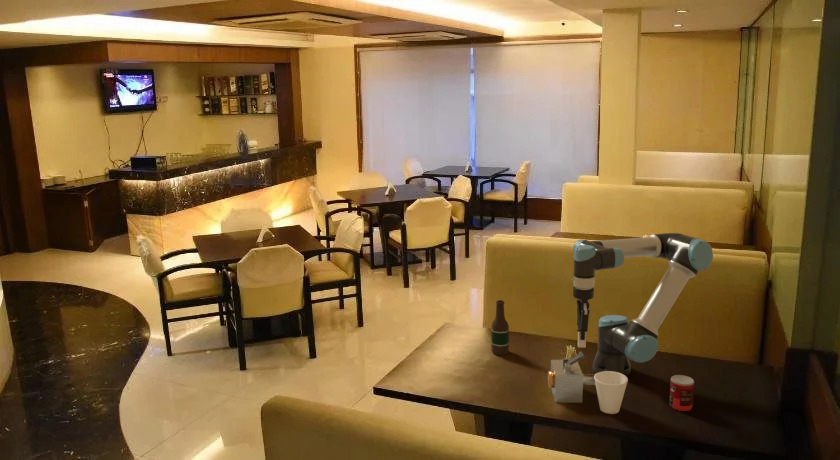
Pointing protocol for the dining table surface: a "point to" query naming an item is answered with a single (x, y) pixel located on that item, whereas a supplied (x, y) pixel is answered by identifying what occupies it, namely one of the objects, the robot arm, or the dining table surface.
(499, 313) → the beer bottle
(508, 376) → the dining table surface
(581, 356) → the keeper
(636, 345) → the robot arm
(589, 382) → the pin
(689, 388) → the canned food
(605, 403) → the cup
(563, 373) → the hitch block
